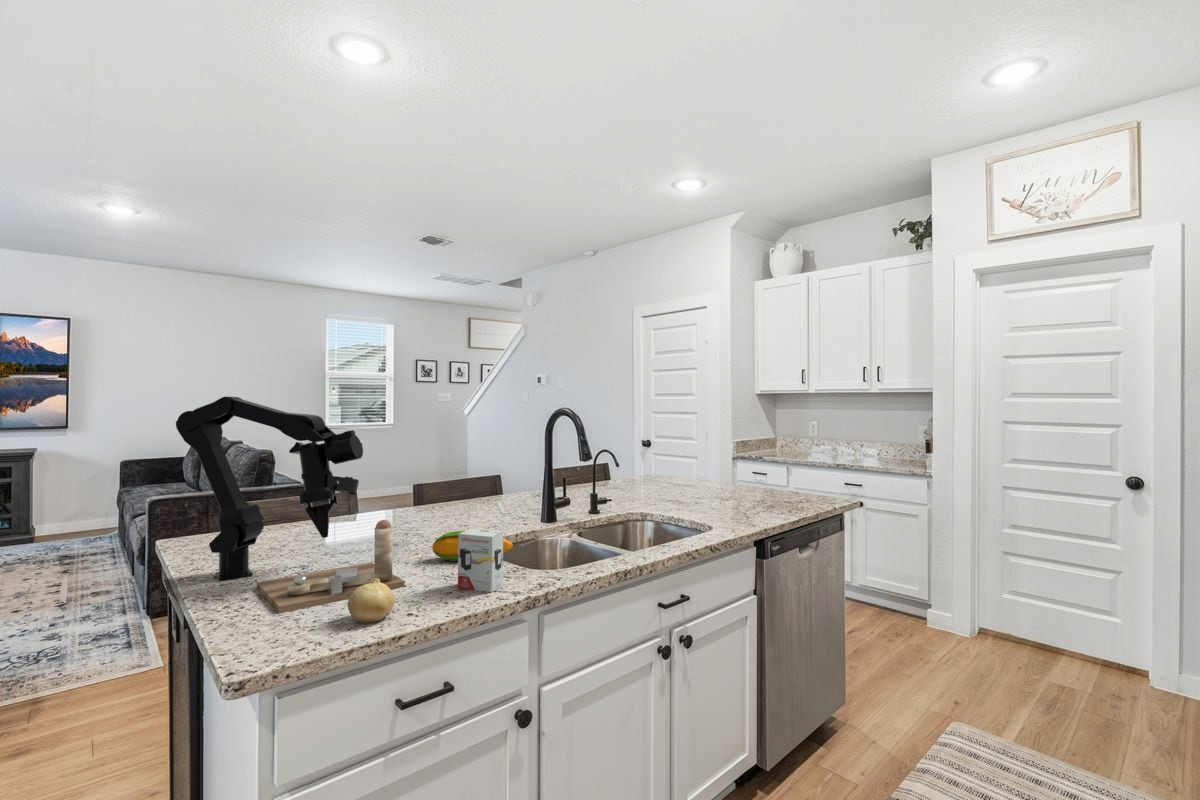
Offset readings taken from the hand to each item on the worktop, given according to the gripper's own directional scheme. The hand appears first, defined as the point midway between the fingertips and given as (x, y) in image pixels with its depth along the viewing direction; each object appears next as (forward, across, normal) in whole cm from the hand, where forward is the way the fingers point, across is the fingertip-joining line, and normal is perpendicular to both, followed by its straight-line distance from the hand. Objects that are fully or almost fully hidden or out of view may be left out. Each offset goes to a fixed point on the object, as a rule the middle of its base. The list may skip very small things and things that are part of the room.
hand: (325, 537), depth 129 cm
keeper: (+11, -11, 0) cm, 16 cm away
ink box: (+18, -15, -29) cm, 37 cm away
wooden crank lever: (+11, -9, -3) cm, 14 cm away
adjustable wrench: (+8, +20, -13) cm, 25 cm away
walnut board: (+11, -4, 0) cm, 12 cm away
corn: (+13, +8, -32) cm, 35 cm away
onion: (+18, -26, -8) cm, 32 cm away
